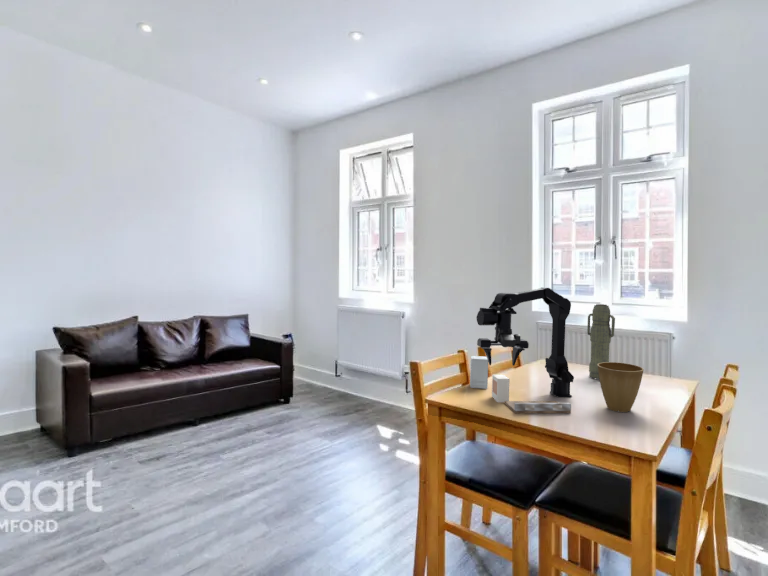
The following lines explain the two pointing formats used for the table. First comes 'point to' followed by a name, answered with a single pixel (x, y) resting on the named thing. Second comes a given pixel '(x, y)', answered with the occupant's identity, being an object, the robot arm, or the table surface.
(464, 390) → the table surface
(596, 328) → the thermos
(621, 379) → the plant pot
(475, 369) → the supplement box
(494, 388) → the carton
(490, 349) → the robot arm
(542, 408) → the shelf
